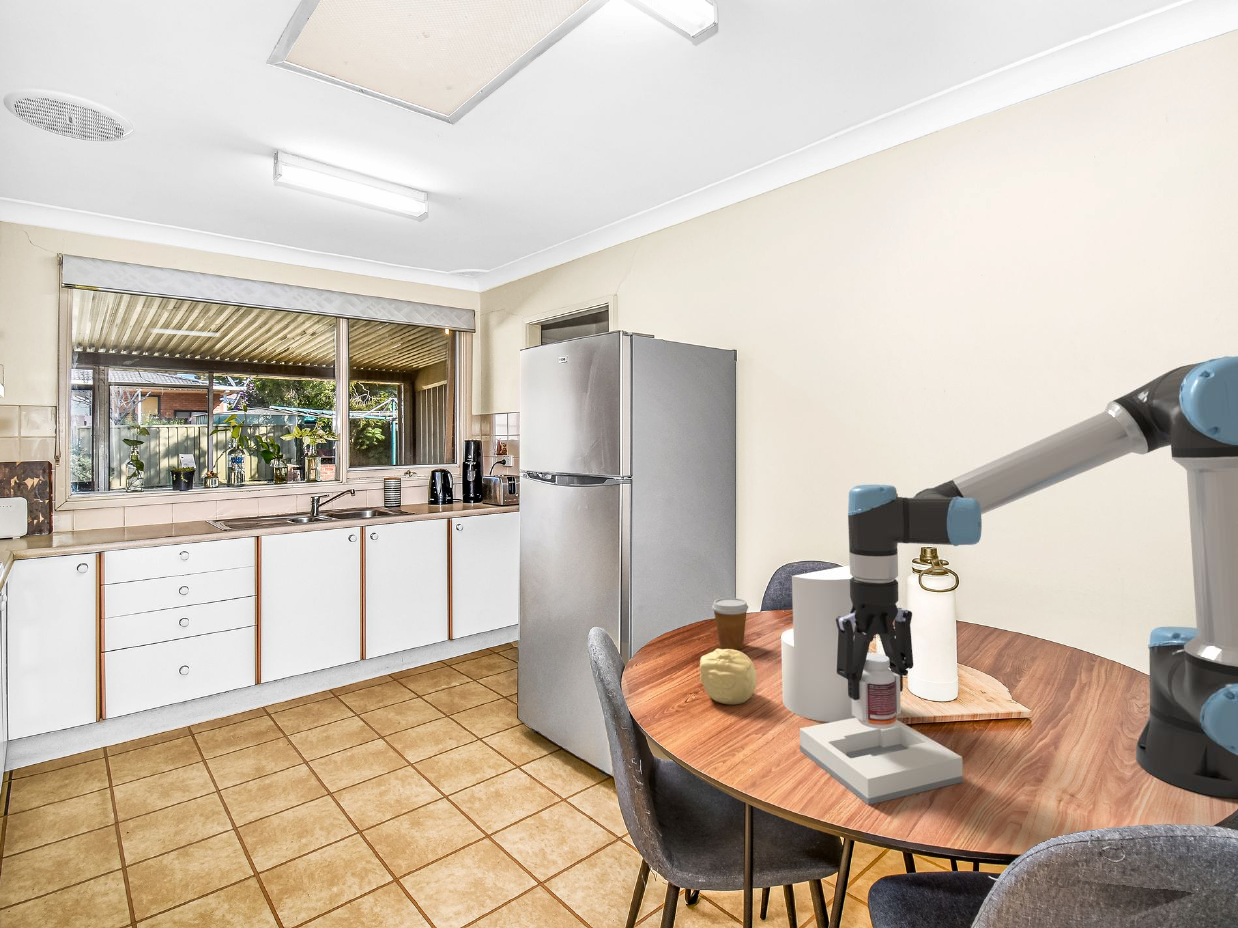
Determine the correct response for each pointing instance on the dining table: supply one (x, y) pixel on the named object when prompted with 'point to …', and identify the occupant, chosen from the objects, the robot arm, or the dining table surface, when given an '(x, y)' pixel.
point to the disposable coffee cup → (730, 622)
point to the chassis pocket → (880, 759)
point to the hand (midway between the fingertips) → (876, 713)
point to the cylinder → (816, 647)
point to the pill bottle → (879, 692)
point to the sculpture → (728, 676)
